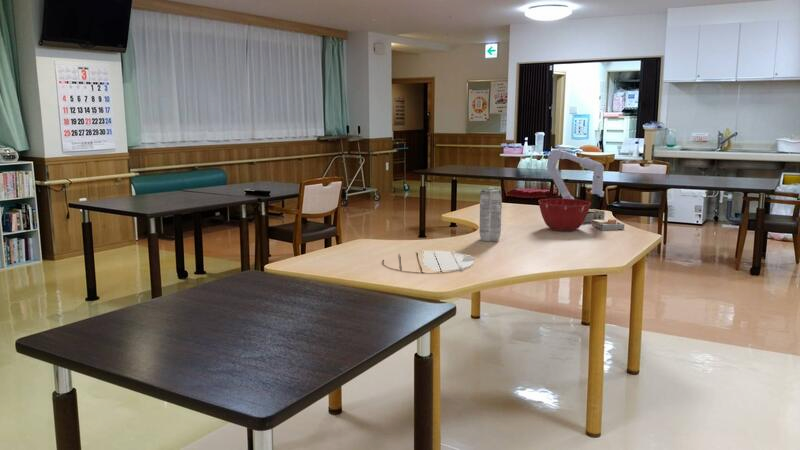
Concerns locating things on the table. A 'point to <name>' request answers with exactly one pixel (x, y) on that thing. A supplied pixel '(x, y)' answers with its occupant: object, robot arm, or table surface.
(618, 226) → the tray
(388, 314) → the table surface
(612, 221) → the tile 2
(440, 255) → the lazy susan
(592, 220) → the board
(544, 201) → the mixing bowl
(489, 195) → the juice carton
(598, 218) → the coffee box
